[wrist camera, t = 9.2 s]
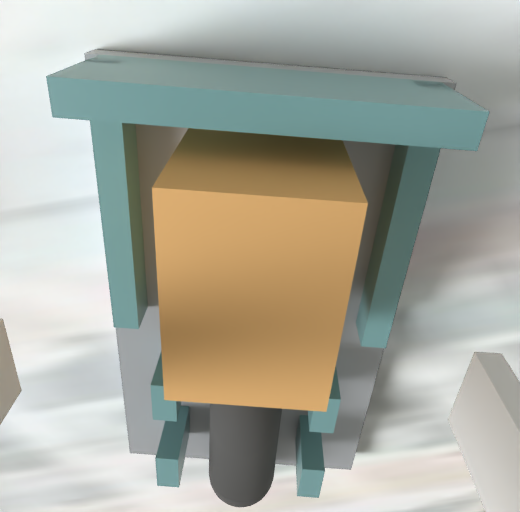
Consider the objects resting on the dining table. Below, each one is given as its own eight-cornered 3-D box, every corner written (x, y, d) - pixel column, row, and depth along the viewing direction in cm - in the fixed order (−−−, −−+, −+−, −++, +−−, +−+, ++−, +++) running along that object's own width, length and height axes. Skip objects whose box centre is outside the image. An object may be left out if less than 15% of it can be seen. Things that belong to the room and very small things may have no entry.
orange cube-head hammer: (288, 465, 25) (290, 590, 20) (196, 458, 25) (175, 582, 20) (338, 131, 16) (368, 203, 11) (193, 120, 16) (151, 187, 11)
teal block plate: (348, 453, 26) (362, 547, 22) (134, 437, 26) (106, 527, 22) (446, 77, 16) (509, 113, 12) (95, 49, 16) (25, 74, 11)
